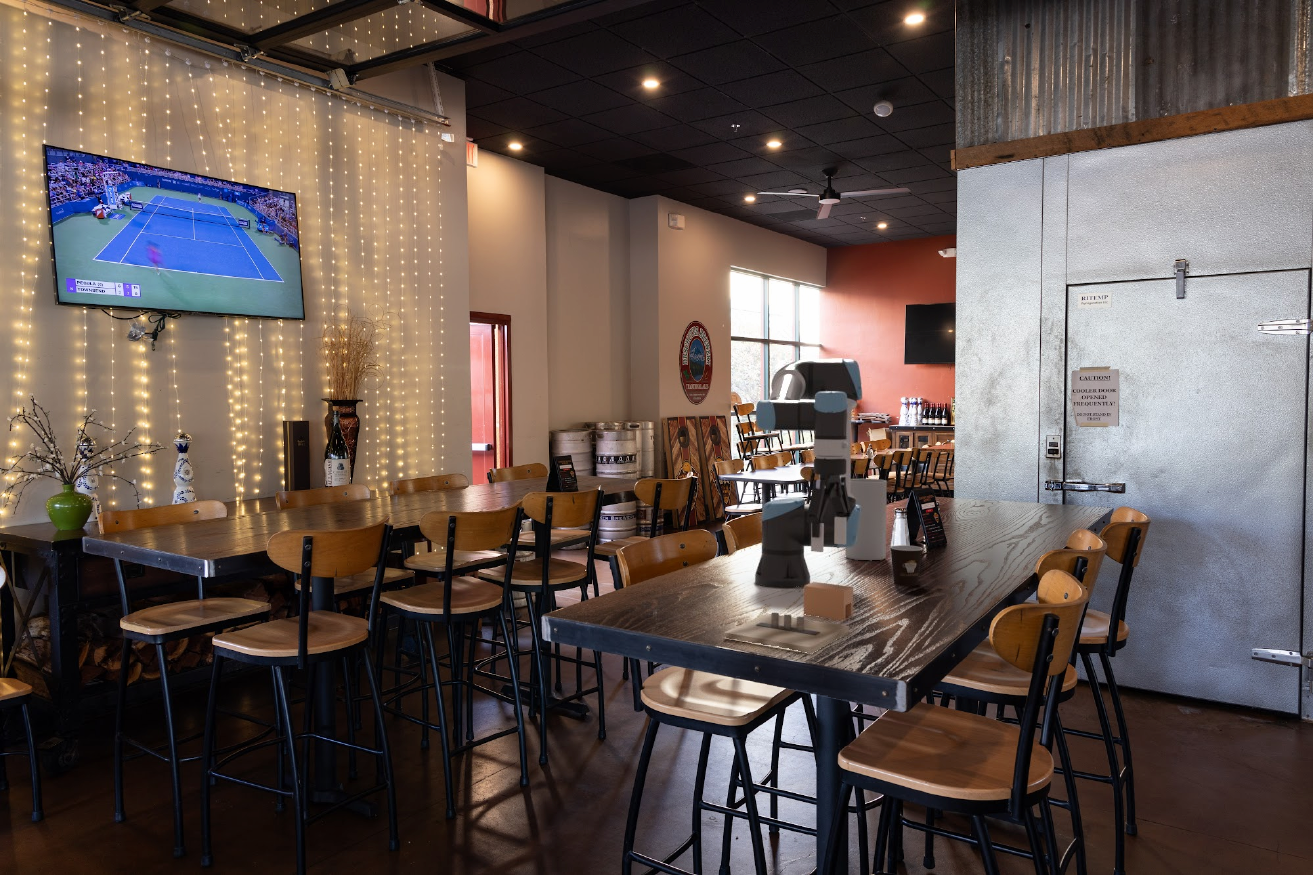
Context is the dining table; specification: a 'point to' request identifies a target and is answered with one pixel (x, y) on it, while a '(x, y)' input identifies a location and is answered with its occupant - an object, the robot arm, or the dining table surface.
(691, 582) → the dining table surface
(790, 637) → the board
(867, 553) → the cylinder vase
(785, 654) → the dining table surface
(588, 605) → the dining table surface
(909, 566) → the coffee mug
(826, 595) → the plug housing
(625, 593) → the dining table surface
